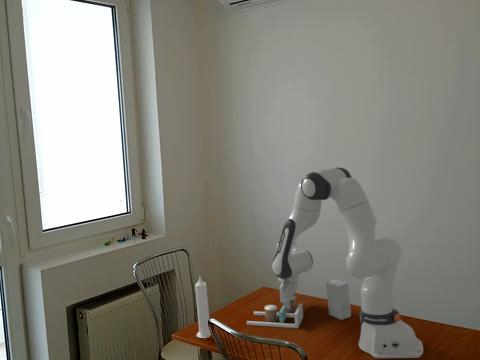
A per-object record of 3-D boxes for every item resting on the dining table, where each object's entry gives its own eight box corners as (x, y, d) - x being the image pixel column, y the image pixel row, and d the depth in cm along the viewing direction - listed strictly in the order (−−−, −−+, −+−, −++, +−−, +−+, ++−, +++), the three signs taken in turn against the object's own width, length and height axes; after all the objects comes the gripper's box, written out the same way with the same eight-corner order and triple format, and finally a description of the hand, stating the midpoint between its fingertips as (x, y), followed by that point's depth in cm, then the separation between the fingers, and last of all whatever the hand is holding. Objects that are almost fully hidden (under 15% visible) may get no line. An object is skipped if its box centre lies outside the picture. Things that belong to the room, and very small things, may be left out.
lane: (303, 316, 206) (302, 303, 205) (298, 328, 195) (297, 314, 194) (254, 313, 213) (253, 301, 212) (246, 324, 202) (245, 311, 201)
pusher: (291, 317, 205) (290, 305, 205) (287, 324, 198) (286, 312, 198) (283, 316, 207) (283, 305, 206) (279, 324, 199) (278, 312, 199)
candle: (203, 330, 200) (197, 272, 197) (217, 333, 196) (212, 274, 193) (193, 337, 194) (187, 278, 191) (207, 340, 190) (202, 280, 187)
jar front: (278, 318, 206) (277, 305, 205) (275, 323, 201) (274, 309, 200) (267, 317, 208) (266, 304, 207) (264, 322, 203) (263, 309, 202)
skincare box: (351, 316, 202) (349, 283, 200) (340, 320, 199) (338, 286, 197) (338, 310, 209) (336, 278, 207) (327, 314, 206) (325, 281, 204)
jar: (295, 307, 215) (294, 294, 215) (297, 311, 210) (296, 298, 210) (283, 308, 215) (282, 295, 214) (285, 312, 210) (284, 299, 209)
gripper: (289, 283, 200) (292, 315, 202) (299, 268, 219) (301, 297, 221) (275, 283, 202) (277, 314, 204) (285, 268, 221) (288, 296, 223)
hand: (290, 305), depth 212 cm, fingers closed on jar, 5 cm apart
